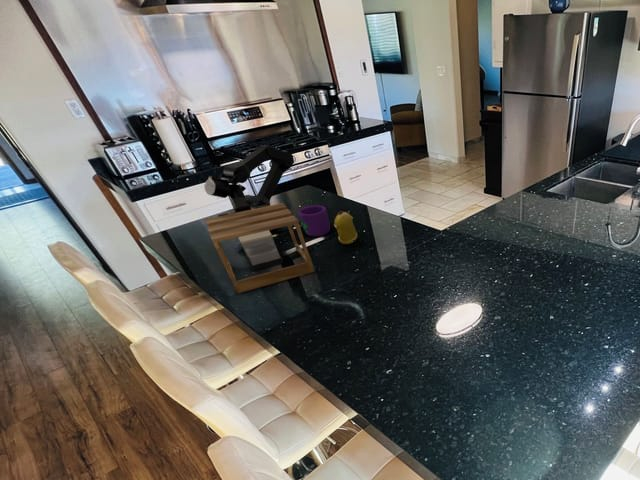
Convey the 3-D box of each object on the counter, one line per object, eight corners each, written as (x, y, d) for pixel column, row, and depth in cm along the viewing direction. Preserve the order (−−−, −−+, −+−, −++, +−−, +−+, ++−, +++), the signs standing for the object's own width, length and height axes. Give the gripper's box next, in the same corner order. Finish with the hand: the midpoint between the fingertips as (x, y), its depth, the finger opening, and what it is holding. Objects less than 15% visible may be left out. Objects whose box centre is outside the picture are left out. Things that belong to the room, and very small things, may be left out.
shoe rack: (228, 268, 152) (204, 218, 139) (299, 250, 162) (282, 202, 150) (237, 293, 137) (212, 240, 125) (314, 271, 148) (297, 220, 135)
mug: (336, 232, 175) (330, 209, 168) (312, 240, 169) (305, 217, 162) (318, 221, 184) (311, 199, 178) (294, 229, 178) (287, 206, 172)
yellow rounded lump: (360, 247, 163) (351, 210, 153) (340, 250, 161) (330, 213, 151) (357, 236, 171) (349, 200, 161) (338, 239, 169) (328, 203, 159)
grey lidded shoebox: (275, 247, 164) (268, 228, 159) (284, 262, 154) (276, 242, 149) (246, 255, 160) (237, 235, 155) (253, 271, 149) (244, 250, 144)
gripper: (206, 193, 147) (223, 232, 147) (260, 183, 154) (276, 220, 154) (213, 208, 157) (230, 245, 157) (263, 198, 164) (279, 233, 164)
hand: (254, 235), depth 158 cm, fingers open, 9 cm apart
